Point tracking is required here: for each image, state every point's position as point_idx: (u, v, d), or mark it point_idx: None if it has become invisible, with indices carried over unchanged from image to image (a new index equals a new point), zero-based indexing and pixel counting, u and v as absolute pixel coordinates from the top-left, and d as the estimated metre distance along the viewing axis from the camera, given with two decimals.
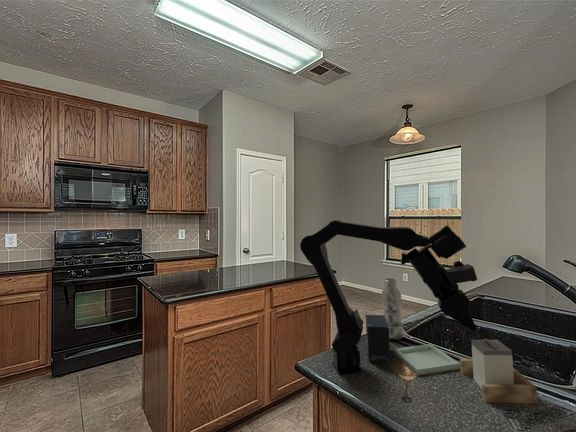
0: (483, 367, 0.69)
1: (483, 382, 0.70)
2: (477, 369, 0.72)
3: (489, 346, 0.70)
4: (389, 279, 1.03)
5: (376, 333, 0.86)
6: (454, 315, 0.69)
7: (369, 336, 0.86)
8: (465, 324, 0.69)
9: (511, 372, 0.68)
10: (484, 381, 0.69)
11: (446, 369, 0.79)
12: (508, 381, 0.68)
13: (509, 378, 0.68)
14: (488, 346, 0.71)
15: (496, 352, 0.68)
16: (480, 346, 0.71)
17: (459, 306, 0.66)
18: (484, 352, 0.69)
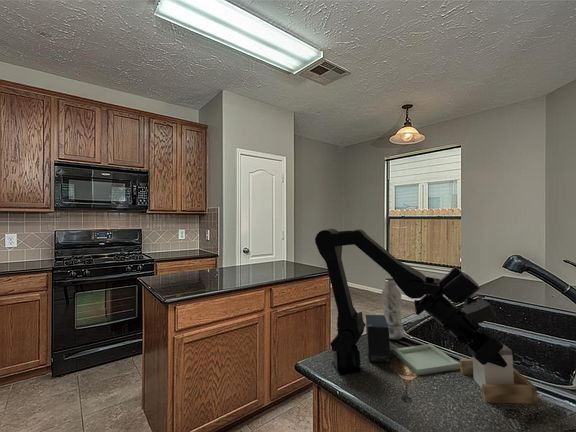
0: (483, 367, 0.69)
1: (483, 382, 0.70)
2: (477, 369, 0.72)
3: None
4: (389, 279, 1.03)
5: (376, 333, 0.86)
6: None
7: (369, 336, 0.86)
8: (496, 363, 0.67)
9: (511, 372, 0.68)
10: (484, 380, 0.69)
11: (446, 369, 0.79)
12: (509, 381, 0.68)
13: (509, 378, 0.68)
14: None
15: None
16: None
17: (495, 353, 0.62)
18: None
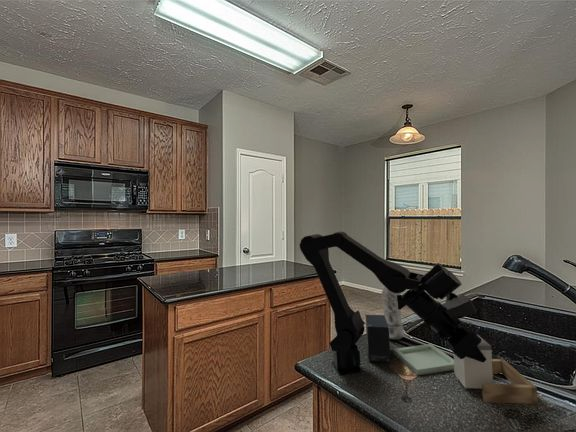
0: (463, 362, 0.70)
1: (463, 376, 0.70)
2: (457, 364, 0.73)
3: None
4: None
5: (376, 333, 0.86)
6: None
7: (369, 336, 0.86)
8: (475, 358, 0.68)
9: (490, 367, 0.69)
10: (464, 375, 0.70)
11: (446, 369, 0.79)
12: (487, 375, 0.69)
13: (488, 373, 0.69)
14: None
15: None
16: None
17: (472, 347, 0.63)
18: None
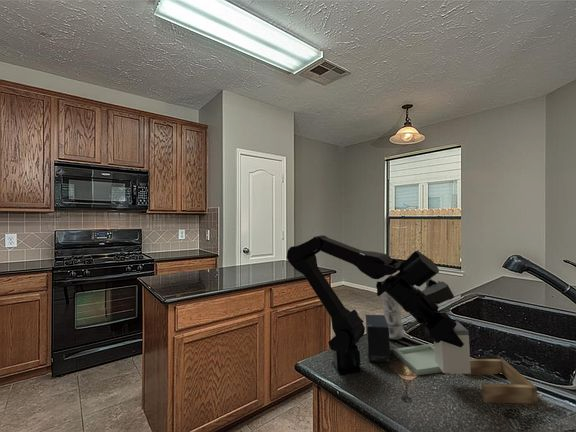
0: (441, 347, 0.70)
1: (441, 362, 0.71)
2: (437, 350, 0.73)
3: None
4: None
5: (376, 333, 0.86)
6: None
7: (369, 336, 0.86)
8: (453, 343, 0.69)
9: (468, 352, 0.69)
10: (442, 360, 0.70)
11: None
12: (465, 360, 0.69)
13: (466, 358, 0.69)
14: None
15: None
16: None
17: (448, 331, 0.64)
18: None
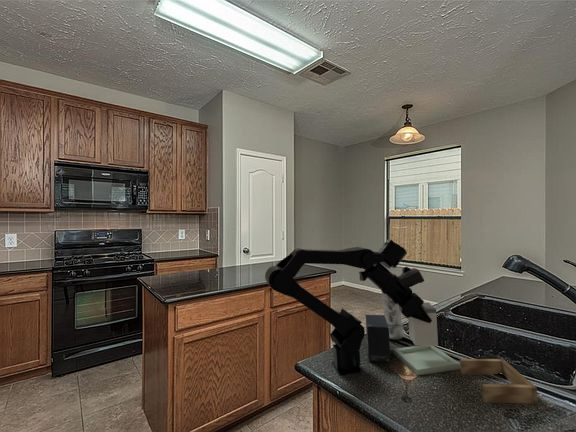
0: (413, 323, 0.83)
1: (413, 336, 0.83)
2: (410, 326, 0.86)
3: None
4: None
5: (376, 333, 0.86)
6: (412, 314, 0.80)
7: (369, 336, 0.86)
8: (422, 319, 0.81)
9: (435, 327, 0.81)
10: (414, 334, 0.83)
11: (446, 369, 0.79)
12: (433, 334, 0.81)
13: (434, 332, 0.81)
14: None
15: None
16: None
17: (416, 308, 0.76)
18: None
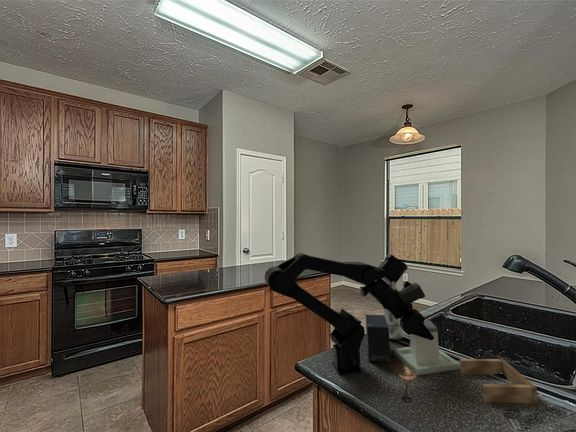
0: (414, 343, 0.83)
1: (415, 355, 0.83)
2: (412, 345, 0.86)
3: None
4: None
5: (376, 333, 0.86)
6: (415, 331, 0.79)
7: (369, 336, 0.86)
8: (425, 336, 0.80)
9: (437, 346, 0.81)
10: (415, 354, 0.83)
11: (446, 369, 0.79)
12: (435, 353, 0.81)
13: (435, 351, 0.81)
14: None
15: None
16: None
17: (418, 325, 0.76)
18: None
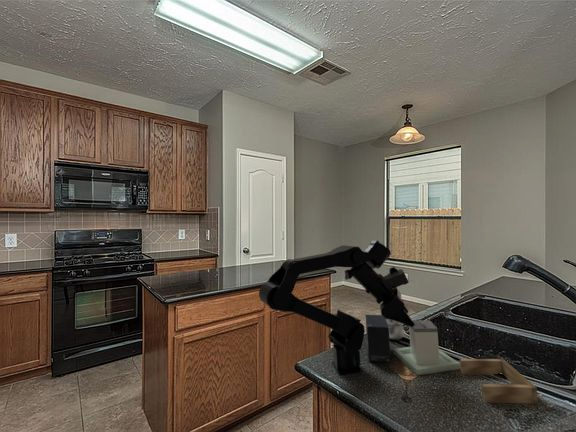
0: (415, 343, 0.83)
1: (415, 355, 0.83)
2: (412, 345, 0.86)
3: (421, 325, 0.84)
4: None
5: (376, 333, 0.86)
6: (394, 317, 0.79)
7: (369, 336, 0.86)
8: (405, 323, 0.80)
9: (437, 346, 0.81)
10: (415, 354, 0.83)
11: (446, 369, 0.79)
12: (435, 353, 0.81)
13: (435, 351, 0.81)
14: (420, 325, 0.84)
15: (425, 329, 0.82)
16: None
17: (396, 310, 0.76)
18: (415, 330, 0.82)
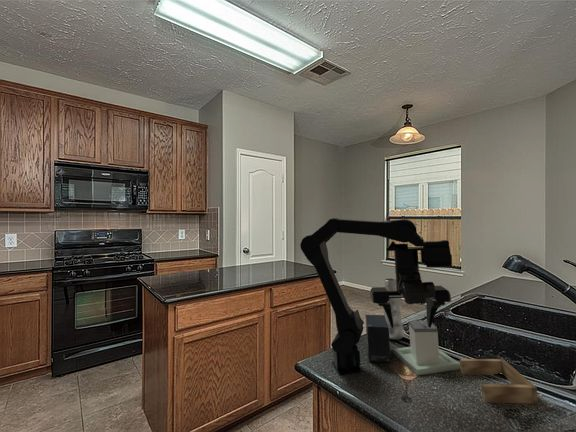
0: (415, 343, 0.83)
1: (415, 355, 0.83)
2: (412, 345, 0.86)
3: (421, 325, 0.84)
4: (389, 279, 1.03)
5: (376, 333, 0.86)
6: None
7: (369, 336, 0.86)
8: None
9: (437, 346, 0.81)
10: (415, 354, 0.83)
11: (446, 369, 0.79)
12: (435, 353, 0.81)
13: (435, 351, 0.81)
14: (420, 325, 0.84)
15: (425, 329, 0.82)
16: (413, 325, 0.84)
17: (372, 299, 0.78)
18: (415, 330, 0.82)
